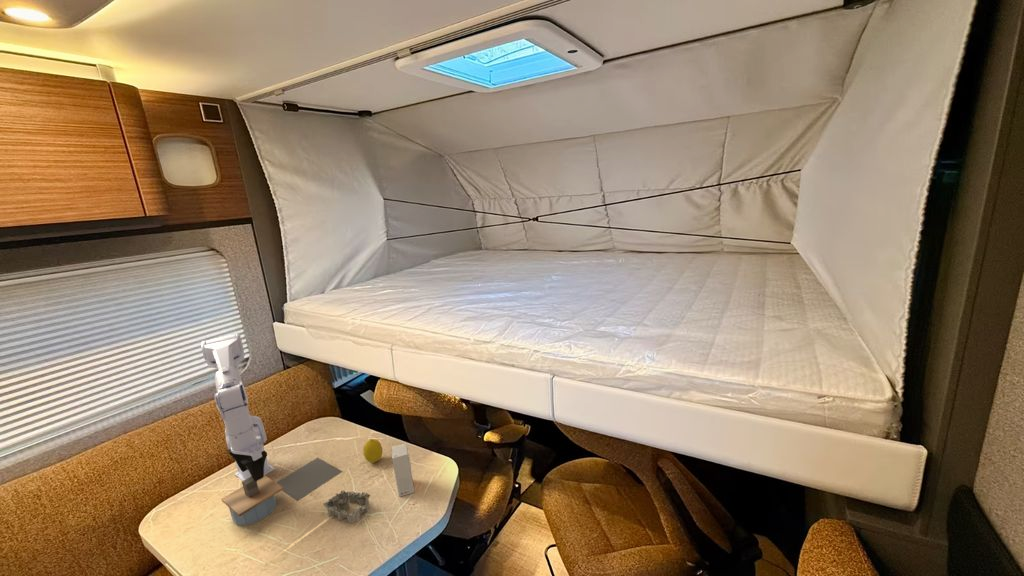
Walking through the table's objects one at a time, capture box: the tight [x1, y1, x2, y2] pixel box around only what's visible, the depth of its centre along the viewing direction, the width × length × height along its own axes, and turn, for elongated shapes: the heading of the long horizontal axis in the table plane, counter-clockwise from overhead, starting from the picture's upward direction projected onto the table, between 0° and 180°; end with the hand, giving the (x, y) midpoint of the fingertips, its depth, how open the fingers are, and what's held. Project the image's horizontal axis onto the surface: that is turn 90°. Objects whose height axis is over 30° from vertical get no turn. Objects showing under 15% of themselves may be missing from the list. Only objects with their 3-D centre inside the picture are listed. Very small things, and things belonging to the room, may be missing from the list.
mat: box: [275, 457, 343, 502], centre depth 125 cm, size 14×14×1 cm
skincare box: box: [391, 443, 415, 497], centre depth 116 cm, size 6×4×12 cm
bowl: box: [228, 494, 277, 526], centre depth 113 cm, size 10×10×5 cm
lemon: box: [363, 438, 383, 464], centre depth 129 cm, size 6×6×8 cm
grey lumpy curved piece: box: [323, 490, 371, 524], centre depth 110 cm, size 11×8×4 cm
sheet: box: [220, 475, 283, 516], centre depth 112 cm, size 11×11×5 cm
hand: (252, 474), depth 113 cm, fingers open, 7 cm apart
